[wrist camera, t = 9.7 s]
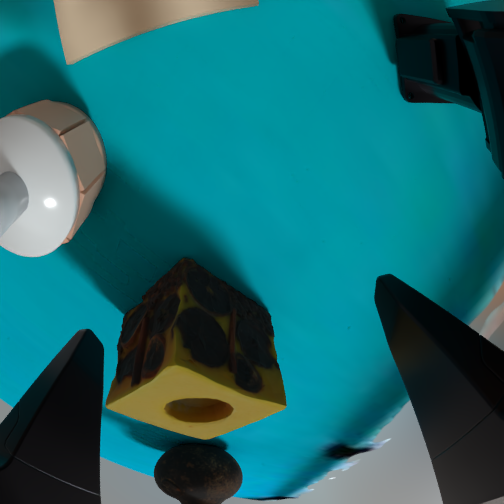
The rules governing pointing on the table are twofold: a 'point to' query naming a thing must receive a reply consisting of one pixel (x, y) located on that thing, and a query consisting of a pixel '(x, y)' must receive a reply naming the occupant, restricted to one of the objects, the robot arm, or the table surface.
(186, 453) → the dark brown vase
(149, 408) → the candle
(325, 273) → the table surface
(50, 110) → the bowl
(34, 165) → the lid
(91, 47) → the mat
